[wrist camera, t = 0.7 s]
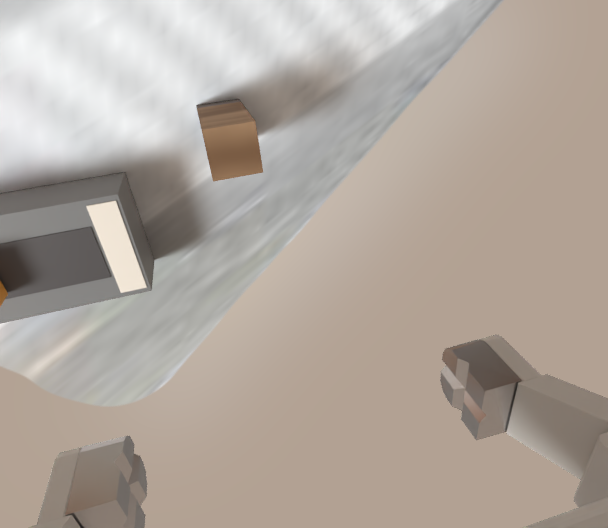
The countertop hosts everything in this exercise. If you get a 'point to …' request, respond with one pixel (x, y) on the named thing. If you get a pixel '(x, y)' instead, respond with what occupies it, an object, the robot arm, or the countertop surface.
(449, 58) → the countertop surface
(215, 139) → the brown wooden block
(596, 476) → the robot arm
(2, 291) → the switch tab
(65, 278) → the switch box
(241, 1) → the countertop surface
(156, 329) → the countertop surface
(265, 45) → the countertop surface
